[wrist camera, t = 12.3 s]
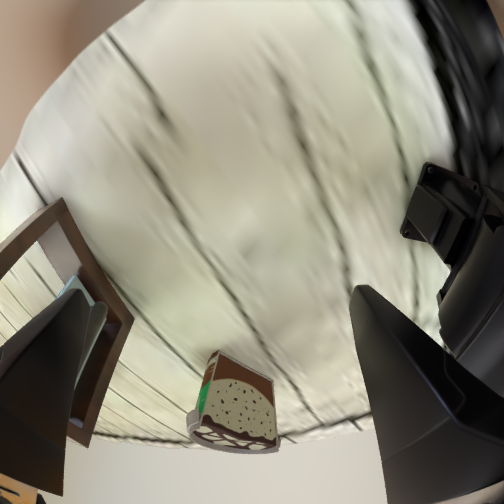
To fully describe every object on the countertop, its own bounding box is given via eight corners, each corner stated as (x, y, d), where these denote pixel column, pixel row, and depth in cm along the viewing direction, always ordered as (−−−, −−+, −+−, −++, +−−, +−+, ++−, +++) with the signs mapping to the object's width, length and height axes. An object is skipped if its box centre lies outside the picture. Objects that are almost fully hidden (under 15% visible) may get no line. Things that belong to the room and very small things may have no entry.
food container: (177, 361, 31) (161, 433, 23) (208, 344, 29) (194, 427, 21) (247, 396, 36) (244, 458, 28) (280, 384, 34) (281, 452, 25)
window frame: (36, 211, 20) (-65, 322, 7) (62, 197, 19) (-57, 322, 7) (106, 321, 28) (58, 437, 15) (134, 319, 27) (88, 448, 15)
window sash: (71, 275, 21) (12, 371, 12) (103, 268, 20) (40, 379, 11) (102, 318, 24) (60, 412, 15) (135, 315, 23) (95, 422, 14)
